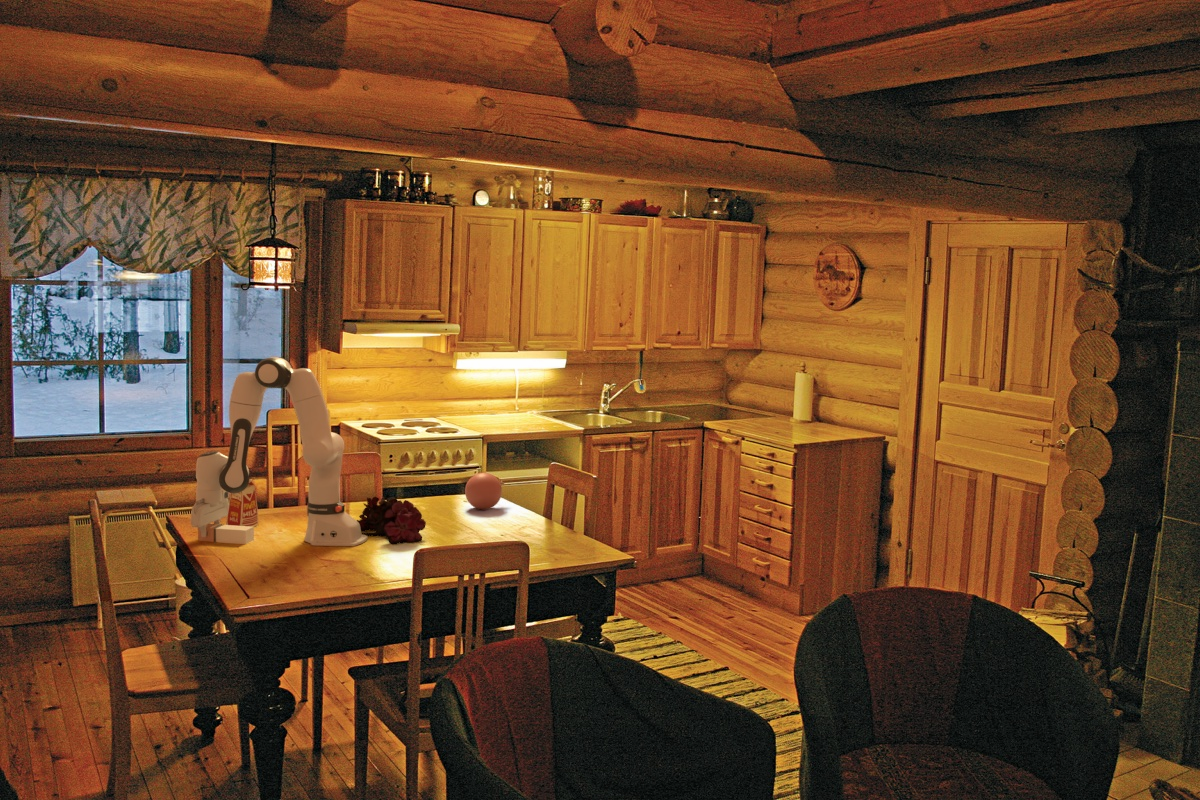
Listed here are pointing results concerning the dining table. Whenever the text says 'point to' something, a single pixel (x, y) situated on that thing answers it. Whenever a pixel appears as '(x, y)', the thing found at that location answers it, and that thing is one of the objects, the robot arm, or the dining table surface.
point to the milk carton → (243, 507)
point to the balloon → (483, 491)
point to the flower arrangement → (392, 520)
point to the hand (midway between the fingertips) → (210, 534)
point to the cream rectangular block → (233, 534)
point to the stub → (210, 533)
